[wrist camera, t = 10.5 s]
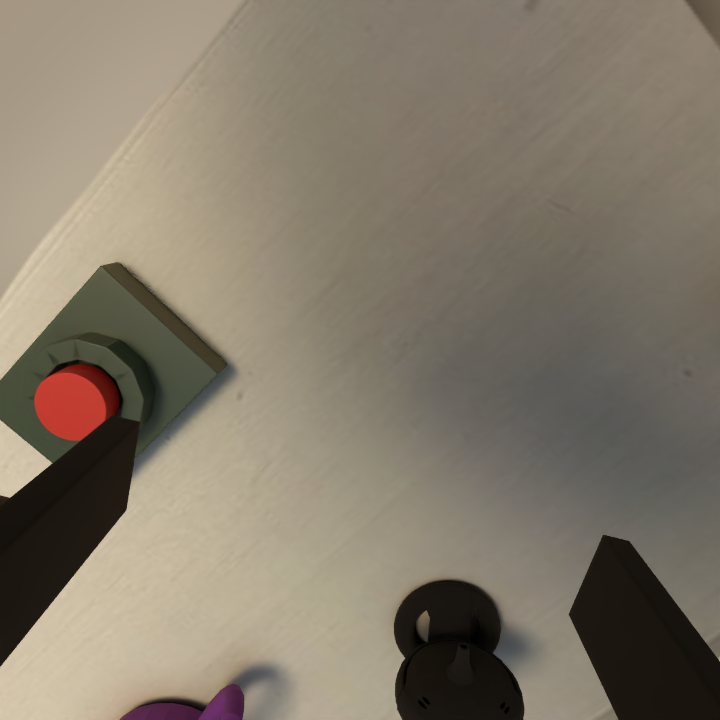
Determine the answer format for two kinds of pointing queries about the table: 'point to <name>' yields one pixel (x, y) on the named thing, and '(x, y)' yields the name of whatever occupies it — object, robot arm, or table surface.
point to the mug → (218, 716)
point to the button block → (112, 359)
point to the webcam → (453, 659)
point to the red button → (76, 401)
